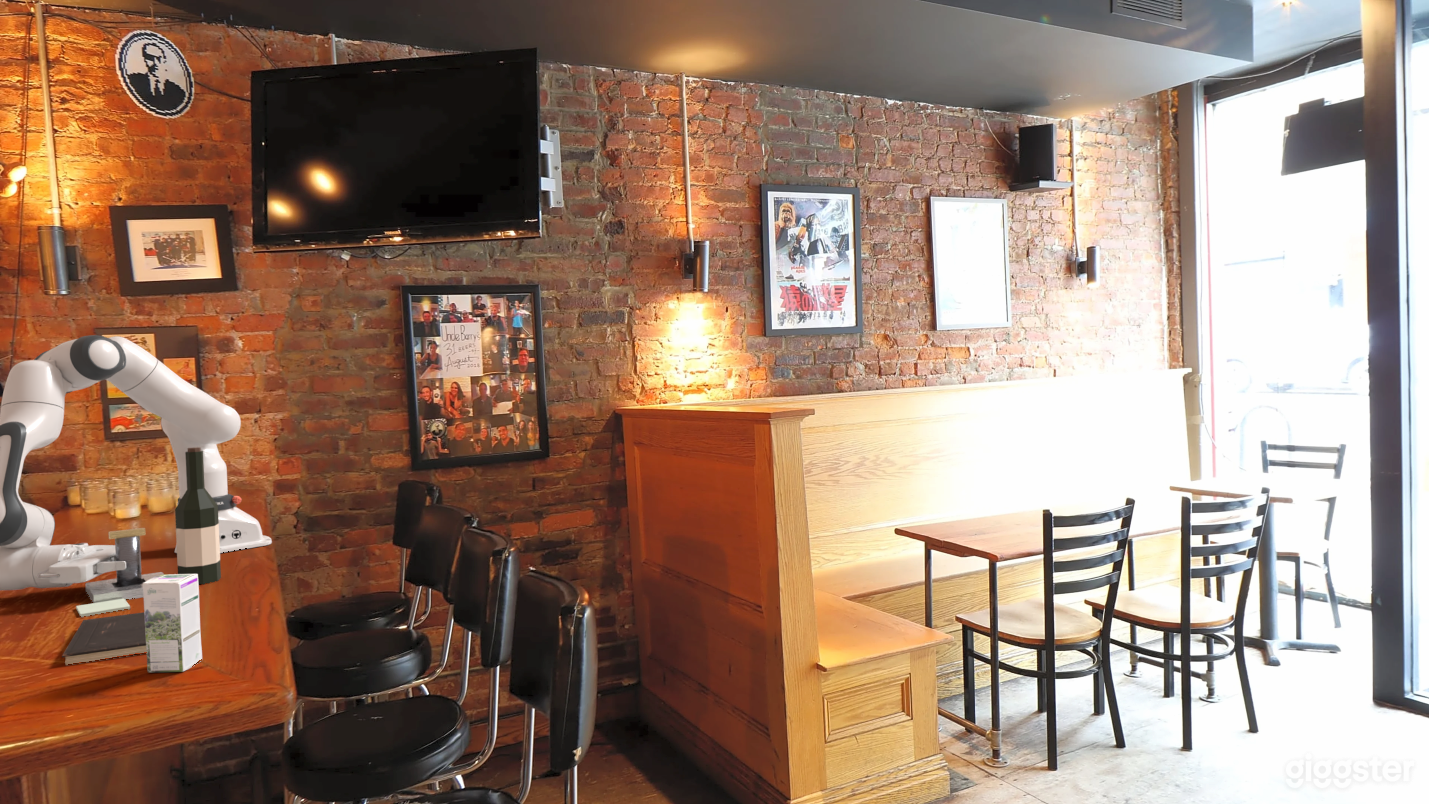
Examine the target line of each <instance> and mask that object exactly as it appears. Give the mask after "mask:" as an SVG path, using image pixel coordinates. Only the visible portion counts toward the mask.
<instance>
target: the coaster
mask: <svg viewBox="0 0 1429 804" xmlns="http://www.w3.org/2000/svg"><path fill="white" fill-rule="evenodd" d="M127 601H128V600H125V599H124V598H123V599H117V600H111V601H105V602H98V603H92V602H91V603H88V604H81V605H80V604H79V605H75V609H76V611H77V613H78V614H79V617H80V616H81V617H80V618H85V617H84V616H86V617H91V616H90V615H92V616H96V615H95V614H98V615H102V614H101V613H104V614H107V613H106V612H110V613H114V612H113V611H116V612H119V611H118V610H122V611H125V610H124V609H128V610H131V605H130V604H129V603H128V602H127Z"/></svg>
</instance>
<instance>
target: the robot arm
mask: <svg viewBox="0 0 1429 804" xmlns="http://www.w3.org/2000/svg"><path fill="white" fill-rule="evenodd" d="M105 380H106V381H108V382H109V383H110V384H112V385H113V387H114V386H115V388H117V389H118V390H119V391H121V392H122V393H123V394H125V395H126V396H127V397H128V398H130V399H131V400H132V401H133V402H135V403H136V404H138V405H139V406H140V407H142V408H143V409H144V410H145V411H147V412H148V413H151V414H153V415H156V416H157V417H159V418H161V419H160V422H161V423H160V425H161V429H162V431H163V432H164V434H165V435H166V436H167V438H168V439H169V443H170V446H171V449H172V452H173V455H174V459H175V461H176V462H175V463H176V467H177V475H178V476H177V477H178V490H179V491H178V493H179V497H178V498H177V503H176V504H177V505H178V504H179V502H180V500H181V499H182V497H183V496H184V494H185V492H186V491H187V477H186V454H185V452H188V448H194V447H201V451H203V463H204V485H205V489H206V490H207V492H208V493H209V494H210V496H211V497H212V498H213V499H214V501H215V502H216V503H217V505H218V520H219V543H220V554H223V552H224V553H228V551H229V552H233V551H234V550H235V551H240V550H239V549H241V550H246V549H245V548H247V549H252V548H258V547H263V546H269V545H271V544H272V543H273V541H272V538H271V537H270V536H267V535H263V529H262V527H261V524H260V522H259V520H258V519H256V518H255V517H253V516H252V515H250V514H249V513H247V512H245V511H243V510H242V509H240V508H239V507H237V505H239V504H241V502H242V500H243V499H242V498H241V497H240V496H238V495H233V494H230V493H228V492H229V490H228V489H229V487H228V470H227V469H228V468H227V464H226V462H225V460H224V459H223V458H222V456H221V454H220V452H219V449H218V446H217V445H218V444H222V443H225V442H227V441H230V440H233V439H234V438H235V437H236V436H237V435H238V433H239V431H240V429H241V425H242V421H241V417H240V415H239V413H238V412H237V411H236V409H235V408H234V407H231V406H229V405H227V404H226V403H223V402H221V401H219V400H217V399H216V398H215V397H213V396H212V395H210V394H208V393H207V392H205V391H203V390H202V389H200V388H198V387H196V386H195V385H192V384H191V383H189V382H188V381H186V380H185V379H183V378H182V377H181V376H180V375H178V374H177V373H175V372H174V371H173V370H172V369H170V368H169V367H168V366H166V365H165V364H164V362H162V361H160V360H159V359H158V358H157V357H155V356H154V355H153V354H151V353H150V352H149V351H147V350H146V349H144V348H143V347H141V346H139V345H138V344H137V343H135V342H133V341H131V340H129V339H128V338H126V337H123V336H118V335H117V336H111V337H106V336H103V335H99V334H98V335H97V334H95V335H94V334H93V335H92V334H91V335H90V334H89V335H84V336H80V337H79V338H76V339H75V338H74V339H72V340H68V341H65V342H62V343H60V344H58V345H57V346H55V347H53V348H50V350H49V349H48V350H46V351H43V352H42V353H40V354H39V355H37V356H36V357H35V358H34V359H30V360H23V361H21V362H18V363H16V364H14V365H13V367H11V368H10V371H9V373H8V376H7V379H6V380H5V381H6V382H5V384H4V389H3V393H2V396H1V397H2V398H1V403H0V404H1V405H0V591H17V590H24V589H26V588H37V589H47V588H48V589H50V588H51V589H52V588H65V587H67V588H68V587H70V586H72V585H73V584H80V583H87V582H89V581H90V580H93V579H95V578H96V577H99V576H100V575H103V574H106V573H110V572H115V571H116V570H124V569H126V568H128V561H127V560H119V561H116V551H115V544H114V545H113V544H110V545H109V544H95V545H94V544H93V545H92V544H91V545H89V544H88V542H81V543H80V542H79V543H73V544H69V543H68V544H53V545H52V540H53V537H54V534H55V529H56V521H55V517H54V516H53V514H52V513H51V512H50V511H49V510H48V509H46V508H43V507H41V506H37V505H35V504H32V503H29V502H25V501H23V500H22V499H21V496H20V494H19V488H20V481H21V478H22V472H23V469H24V464H25V463H24V462H25V460H26V457H27V455H28V454H29V453H30V452H31V451H34V450H38V449H42V448H45V447H46V446H49V445H50V444H52V443H53V442H55V441H56V440H57V439H59V437H60V434H61V432H62V429H63V427H64V426H63V424H64V418H65V417H64V416H65V404H66V403H65V397H66V394H70V393H73V392H75V391H79V390H80V391H81V390H84V389H86V388H90V387H91V386H93V385H94V384H97V383H98V382H99V383H100V382H101V381H105ZM177 505H176V506H177ZM174 553H175V554H177V543H176V545H175V549H174Z"/></svg>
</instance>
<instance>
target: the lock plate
mask: <svg viewBox="0 0 1429 804" xmlns="http://www.w3.org/2000/svg"><path fill="white" fill-rule="evenodd" d="M160 575H166V574H164V572H162V571H160V572H152V573H144V574H141V576H142V584H138V585H131V586H124V587H118V588H117V577H116V578H110V579H104V580H97V581H90V582H89V581H88V582H85V593H86V592H87V593H86V595H87V594H88V595H89V596H88V595H87V596H88V598H89V597H90V598H89V600H90V601H91V600H92V601H91V603H92V602H93V603H98V602H105V601H111V600H117V599H123V598H124V599H125V600H126V599H129V600H135V599H140V598H144V596H143V583H144V582H146V581H148V580H150V579H152V578H154V577H156V576H160ZM132 598H133V599H132ZM134 598H135V599H134ZM126 601H127V600H126Z"/></svg>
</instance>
